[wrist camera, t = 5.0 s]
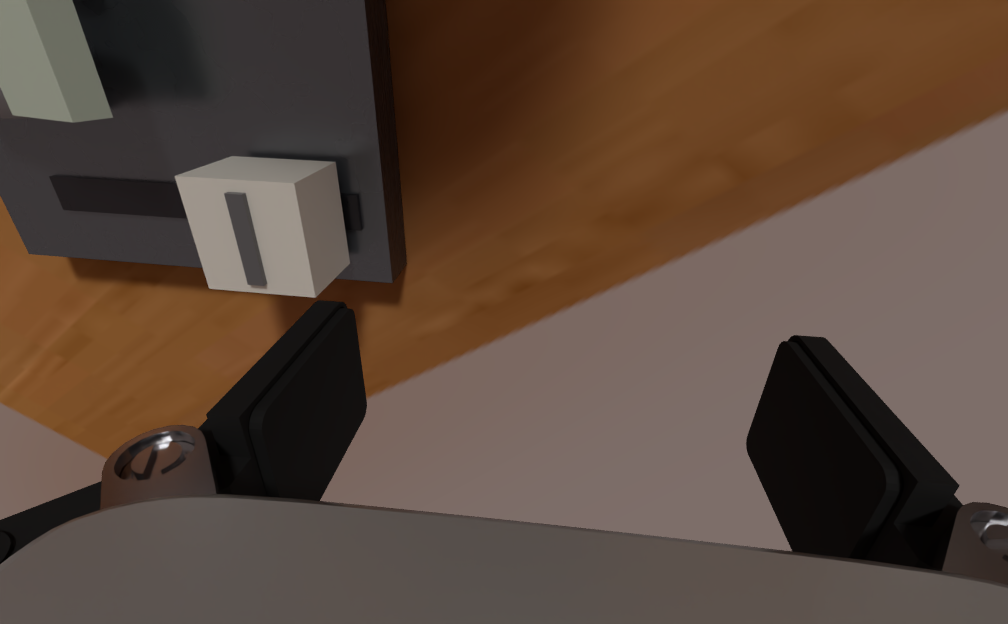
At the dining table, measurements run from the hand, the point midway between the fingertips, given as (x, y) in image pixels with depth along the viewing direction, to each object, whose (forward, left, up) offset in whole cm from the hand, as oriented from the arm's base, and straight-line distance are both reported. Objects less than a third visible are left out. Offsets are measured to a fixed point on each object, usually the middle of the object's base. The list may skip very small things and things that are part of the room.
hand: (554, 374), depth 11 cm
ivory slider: (+10, 0, -9) cm, 14 cm away
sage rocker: (+18, -6, -7) cm, 20 cm away
